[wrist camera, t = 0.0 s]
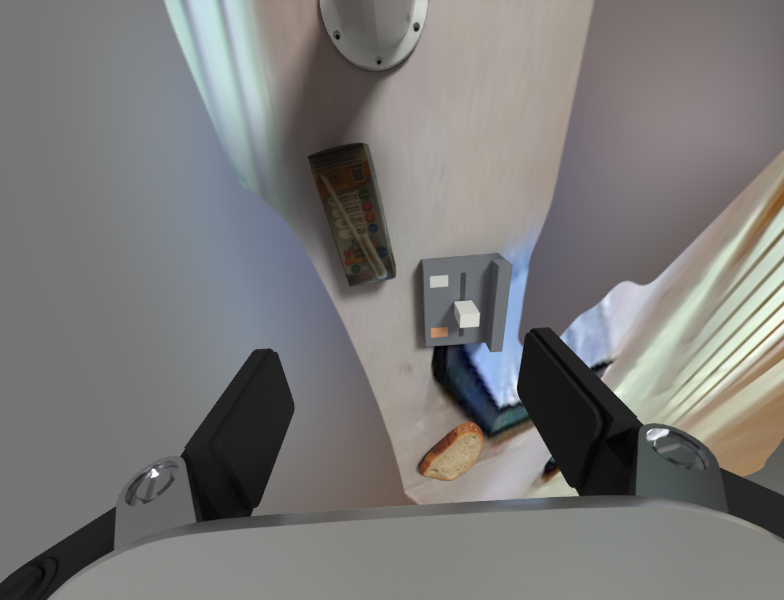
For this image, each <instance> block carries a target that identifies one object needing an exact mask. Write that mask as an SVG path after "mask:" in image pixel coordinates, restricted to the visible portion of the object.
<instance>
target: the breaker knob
mask: <svg viewBox="0 0 784 600" xmlns="http://www.w3.org/2000/svg"><path fill="white" fill-rule="evenodd" d="M454 315H455V318H456V320H457V322H458V324H459V327H460V328H466V327H479V319H480V313H479V311H478V309H477V308H476V306H475V305H474V303H473V301H472V300H470V301H457V302H454Z"/></svg>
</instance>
